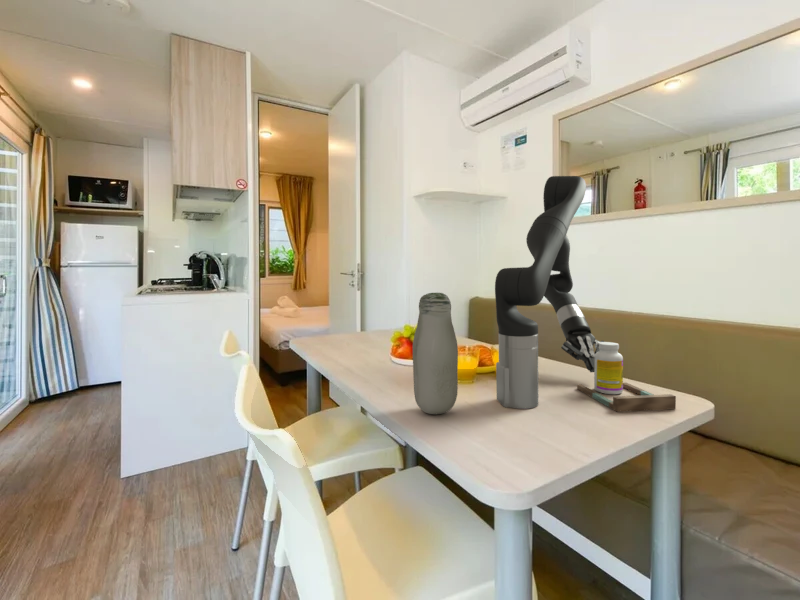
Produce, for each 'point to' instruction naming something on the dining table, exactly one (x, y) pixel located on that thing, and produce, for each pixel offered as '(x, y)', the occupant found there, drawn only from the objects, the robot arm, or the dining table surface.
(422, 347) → the grey bottle
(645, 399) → the frame
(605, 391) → the supplement bottle
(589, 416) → the dining table surface
